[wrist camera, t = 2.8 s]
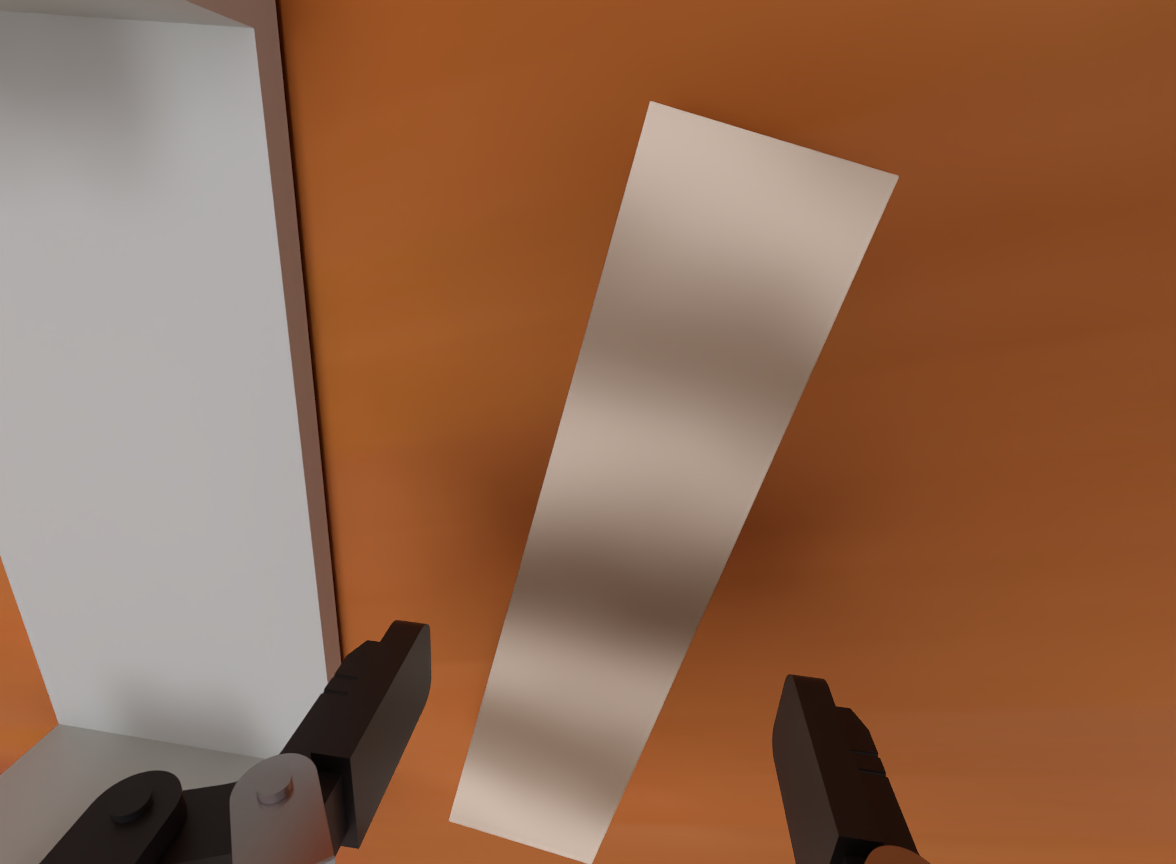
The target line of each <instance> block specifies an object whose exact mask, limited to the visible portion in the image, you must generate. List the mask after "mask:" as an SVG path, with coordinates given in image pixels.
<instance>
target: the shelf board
mask: <svg viewBox="0 0 1176 864" xmlns="http://www.w3.org/2000/svg"><path fill="white" fill-rule="evenodd" d="M898 178H899V176H897V175H894V174H891V173H887V172H884V171H881V170H877V169H874V168H871V167H868V166H864V165H861V164H858V163H854V162H851V161H848V160H844V159H841V158H838V157H834V156H831V155H828V154H824V153H821V152H818V151H814V150H811V149H808V148H805V147H801V146H798V145H795V144H791V143H788V142H785V141H781V140H778V139H775V138H771V137H768V136H765V135H761V134H758V133H755V132H752V131H748V130H745V129H742V128H738V127H735V126H732V125H728V124H725V123H722V122H718V121H715V120H712V119H708V118H705V117H702V116H699V115H695V114H692V113H689V112H685V111H682V110H679V109H675V108H672V107H669V106H665V105H662V104H659V103H655V102H652V101H650V104H649V107H648V111H647V114H646V118H645V122H644V125H643V129H642V132H641V136H640V139H639V143H638V147H637V150H636V154H635V157H634V161H633V164H632V168H631V172H630V175H629V179H628V182H627V186H626V189H625V193H624V197H623V200H622V204H621V207H620V211H619V214H618V218H617V222H616V225H615V229H614V232H613V236H612V239H611V243H610V247H609V250H608V254H607V257H606V261H605V264H604V268H603V272H602V275H601V279H600V282H599V286H598V289H597V293H596V297H595V300H594V304H593V307H592V311H591V314H590V318H589V322H588V325H587V329H586V332H585V336H584V339H583V343H582V347H581V350H580V354H579V357H578V361H577V364H576V368H575V372H574V375H573V379H572V382H571V386H570V389H569V393H568V397H567V400H566V404H565V407H564V411H563V414H562V418H561V422H560V425H559V429H558V432H557V436H556V439H555V443H554V447H553V450H552V454H551V457H550V461H549V464H548V468H547V472H546V475H545V479H544V482H543V486H542V489H541V493H540V497H539V500H538V504H537V507H536V511H535V514H534V518H533V522H532V525H531V529H530V532H529V536H528V539H527V543H526V547H525V550H524V554H523V557H522V561H521V564H520V568H519V572H518V575H517V579H516V582H515V586H514V589H513V593H512V597H511V600H510V604H509V607H508V611H507V614H506V618H505V622H504V625H503V629H502V632H501V636H500V639H499V643H498V647H497V650H496V654H495V657H494V661H493V664H492V668H491V672H490V675H489V679H488V682H487V686H486V689H485V693H484V697H483V700H482V704H481V707H480V711H479V714H478V718H477V722H476V725H475V729H474V732H473V736H472V739H471V743H470V747H469V750H468V754H467V757H466V761H465V764H464V768H463V772H462V775H461V779H460V782H459V786H458V789H457V793H456V797H455V800H454V804H453V807H452V811H451V814H450V818H449V821H451V822H454V823H457V824H460V825H464V826H467V827H470V828H473V829H477V830H480V831H483V832H486V833H490V834H493V835H496V836H499V837H503V838H506V839H509V840H513V841H516V842H519V843H522V844H526V845H529V846H532V847H535V848H539V849H542V850H545V851H548V852H552V853H555V854H558V855H561V856H565V857H568V858H571V859H574V860H578V861H581V862H584V863H587V864H592V862H593V860H594V858H595V855H596V853H597V851H598V849H599V846H600V844H601V842H602V840H603V838H604V835H605V833H606V831H607V829H608V826H609V824H610V822H611V820H612V817H613V815H614V813H615V811H616V808H617V806H618V804H619V802H620V800H621V797H622V795H623V793H624V791H625V788H626V786H627V784H628V782H629V779H630V777H631V775H632V773H633V770H634V768H635V766H636V764H637V761H638V759H639V757H640V755H641V753H642V750H643V748H644V746H645V744H646V741H647V739H648V737H649V735H650V732H651V730H652V728H653V726H654V723H655V721H656V719H657V717H658V715H659V712H660V710H661V708H662V706H663V703H664V701H665V699H666V697H667V694H668V692H669V690H670V688H671V685H672V683H673V681H674V679H675V676H676V674H677V672H678V670H679V668H680V665H681V663H682V661H683V659H684V656H685V654H686V652H687V650H688V647H689V645H690V643H691V641H692V638H693V636H694V634H695V632H696V630H697V627H698V625H699V623H700V621H701V618H702V616H703V614H704V612H705V609H706V607H707V605H708V603H709V600H710V598H711V596H712V594H713V591H714V589H715V587H716V585H717V583H718V580H719V578H720V576H721V574H722V571H723V569H724V567H725V565H726V562H727V560H728V558H729V556H730V553H731V551H732V549H733V547H734V545H735V542H736V540H737V538H738V536H739V533H740V531H741V529H742V527H743V524H744V522H745V520H746V518H747V515H748V513H749V511H750V509H751V506H752V504H753V502H754V500H755V498H756V495H757V493H758V491H759V489H760V486H761V484H762V482H763V480H764V477H765V475H766V473H767V471H768V468H769V466H770V464H771V462H772V460H773V457H774V455H775V453H776V451H777V448H778V446H779V444H780V442H781V439H782V437H783V435H784V433H785V430H786V428H787V426H788V424H789V422H790V419H791V417H792V415H793V413H794V410H795V408H796V406H797V404H798V401H799V399H800V397H801V395H802V392H803V390H804V388H805V386H806V383H807V381H808V379H809V377H810V375H811V372H812V370H813V368H814V366H815V363H816V361H817V359H818V357H819V354H820V352H821V350H822V348H823V345H824V343H825V341H826V339H827V337H828V334H829V332H830V330H831V328H832V325H833V323H834V321H835V319H836V316H837V314H838V312H839V310H840V307H841V305H842V303H843V301H844V298H845V296H846V294H847V292H848V290H849V287H850V285H851V283H852V281H853V278H854V276H855V274H856V272H857V269H858V267H859V265H860V263H861V260H862V258H863V256H864V254H865V252H866V249H867V247H868V245H869V243H870V240H871V238H872V236H873V234H874V231H875V229H876V227H877V225H878V222H879V220H880V218H881V216H882V213H883V211H884V209H885V207H886V205H887V202H888V200H889V198H890V196H891V193H892V191H893V189H894V187H895V184H896V182H897V180H898Z"/></svg>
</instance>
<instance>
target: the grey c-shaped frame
mask: <svg viewBox="0 0 1176 864" xmlns="http://www.w3.org/2000/svg"><path fill="white" fill-rule="evenodd" d="M0 556H1V559H2V562H3V565H4V567H5V570H6V573H7V576H8V579H9V582H10V585H11V588H12V590H13V593H14V596H15V599H16V602H17V605H18V608H19V611H20V613H21V616H22V619H23V622H24V625H25V628H26V631H27V634H28V636H29V639H30V642H31V645H32V648H33V651H34V654H35V657H36V659H37V662H38V665H39V668H40V671H41V674H42V677H43V680H44V682H45V685H46V688H47V691H48V694H49V697H50V700H51V703H52V705H53V708H54V711H55V714H56V717H57V720H58V723H59V724H58V725H57V726H56V727H55V728H54V729H53V730H52V731H50V732H49V733H48V734H47V735H46V736H45V737H44V738H42V739H41V740H40V741H39V742H38V743H37V744H36V745H34V746H33V747H32V748H31V749H30V750H29V751H28V752H26V753H25V754H24V755H23V756H22V757H21V758H20V759H19V760H17V761H16V762H15V763H14V764H13V765H12V766H11V767H9V768H8V769H7V770H6V771H5V772H4V773H3V774H1V775H0V864H39V863H40V862H41V861H42V860H43V859H44V858H45V856H46V855H47V854H48V853H49V852H50V851H51V850H52V848H53V847H54V846H55V845H56V844H57V843H58V841H59V840H60V839H61V838H62V837H63V836H64V835H65V833H66V832H67V831H68V830H69V829H70V828H71V827H72V825H73V824H74V823H75V822H76V821H77V820H78V819H79V817H80V816H81V815H82V814H83V813H84V812H85V811H86V809H87V808H88V807H89V806H90V805H91V804H92V803H93V802H94V801H95V799H96V798H97V797H98V796H100V795H101V794H102V793H103V792H104V791H106V790H107V789H108V788H110V787H111V786H113V785H114V784H116V783H118V782H119V781H121V780H123V779H125V778H128V777H130V776H132V775H135V774H138V773H142V772H146V771H153V770H162V771H167V772H170V773H172V774H174V775H175V776H177V777H178V779H179V780H180V783H181V786H182V790H189V789H196V788H202V787H209V786H216V785H223V784H228V783H233V782H236V781H238V780H239V779H240V778H241V777H242V776H243V774H244V773H245V772H247V771H248V770H249V769H250V768H251V767H253V766H254V765H256V764H257V763H259V762H261V761H263V760H265V759H267V758H269V757H272V756H275V755H279V754H280V752H281V751H282V750H283V748H284V747H285V745H286V744H287V742H288V741H289V740H290V738H291V737H292V735H293V734H294V732H295V731H296V729H297V728H298V726H299V725H300V723H301V722H302V721H303V719H304V718H305V716H306V715H307V713H308V712H309V710H310V709H311V707H312V706H313V705H314V703H315V702H316V700H317V699H318V697H319V696H320V694H321V693H323V692H324V688H325V687H326V686H327V684H328V683H329V681H330V680H331V678H334V674H335V672H336V671H337V669H338V668H339V667H340V665H341V656H340V646H339V636H338V626H337V616H336V606H335V596H334V586H333V576H332V566H331V556H330V546H329V536H328V526H327V516H326V506H325V496H324V486H323V476H322V466H321V456H320V446H319V436H318V425H317V415H316V405H315V395H314V385H313V375H312V365H311V355H310V345H309V335H308V325H307V315H306V305H305V295H304V285H303V275H302V265H301V255H300V245H299V235H298V225H297V215H296V204H295V194H294V184H293V174H292V164H291V154H290V144H289V134H288V124H287V114H286V104H285V94H284V84H283V74H282V64H281V54H280V44H279V34H278V24H277V14H276V4H275V0H0Z"/></svg>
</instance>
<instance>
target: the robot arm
mask: <svg viewBox="0 0 1176 864" xmlns="http://www.w3.org/2000/svg"><path fill="white" fill-rule="evenodd" d="M430 685H431V646H430V627H429V625H428V624H422V623H415V622H408V621H400V620H395V621H394V622H393V623H392V624H391V626H390V627H389V629H388V630H387V632H386V634H385V635H384V637H383V638H382V640H381V641H380V642H376V641H369V640H367V641H366V642H364V643H363V644H362V645H360V646H359V647H358V648H356V649H355V650H354V651H352V652H351V653H350V654H348V655H347V656H346V658H345V659H344V661H343V662H342V664H341V665H340V667H339V668H338V669H337V671H336V672H335V674H334V678H331V680H330V681H329V683H328V684H327V686H326V687H325V688H324V692H323V693H321V694H320V696H319V697H318V699H317V700H316V702H315V703H314V705H313V706H312V707H311V709H310V710H309V712H308V713H307V715H306V716H305V718H304V719H303V721H302V722H301V723H300V725H299V726H298V728H297V729H296V731H295V732H294V734H293V735H292V737H291V738H290V740H289V741H288V742H287V744H286V745H285V747H284V748H283V750H282V751H281V752H280V754H279V755H275V756H272V757H269V758H267V759H265V760H263V761H261V762H259V763H257V764H256V765H254V766H253V767H251V768H250V769H249V770H248V771H247V772H245V773H244V774H243V776H242V777H241V778H240V779H239V780H238V781H236V782H233V783H228V784H223V785H216V786H209V787H202V788H196V789H189V790H182V786H181V783H180V780H179V779H178V777H177V776H175V775H174V774H172V773H170V772H167V771H162V770H153V771H146V772H142V773H138V774H135V775H132V776H130V777H128V778H125V779H123V780H121V781H119V782H118V783H116V784H114V785H113V786H111V787H110V788H108V789H107V790H106V791H104V792H103V793H102V794H101V795H100V796H98V797H97V798H96V799H95V801H94V802H93V803H92V804H91V805H90V806H89V807H88V808H87V809H86V811H85V812H84V813H83V814H82V815H81V816H80V817H79V819H78V820H77V821H76V822H75V823H74V824H73V825H72V827H71V828H70V829H69V830H68V831H67V832H66V833H65V835H64V836H63V837H62V838H61V839H60V840H59V841H58V843H57V844H56V845H55V846H54V847H53V848H52V850H51V851H50V852H49V853H48V854H47V855H46V856H45V858H44V859H43V860H42V861H41V862H40V863H39V864H336V862H335V856H336V854H337V852H338V850H339V848H340V846H345V847H351V848H357V849H359V847H360V845H361V843H362V841H363V839H364V836H365V834H366V832H367V830H368V828H369V826H370V823H371V821H372V819H373V817H374V815H375V813H376V810H377V808H378V806H379V804H380V802H381V800H382V797H383V795H384V793H385V791H386V789H387V787H388V785H389V782H390V780H391V778H392V776H393V774H394V772H395V769H396V767H397V765H398V763H399V761H400V759H401V756H402V754H403V752H404V750H405V748H406V746H407V743H408V741H409V739H410V737H411V735H412V733H413V730H414V728H415V726H416V724H417V722H418V720H419V717H420V715H421V713H422V711H423V709H424V706H425V704H426V701H427V698H428V694H429V690H430ZM772 745H773V757H774V762H775V767H776V771H777V776H778V781H779V786H780V790H781V795H782V800H783V805H784V809H785V814H786V819H787V824H788V828H789V833H790V838H791V843H792V847H793V852H794V857H795V861H796V864H930V863H929V862H928V861H926V860H925V859H924V858H922V857H921V856H920V855H919V853H918V851H917V849H916V846H915V844H914V841H913V839H912V836H911V834H910V831H909V829H908V827H907V824H906V822H905V819H904V817H903V814H902V812H901V809H900V807H899V804H898V802H897V799H896V797H895V794H894V792H893V789H892V787H891V784H890V782H889V779H888V777H886V772H885V769H884V767H883V764H882V762H881V759H880V758H878V752H877V750H876V747H875V745H874V742H873V740H872V737H871V735H870V732H869V730H868V729H867V727H866V726H865V725H864V724H863V723H862V722H861V720H860V719H859V718H858V717H857V716H856V714H855V713H854V712H853V711H852V710H851V709H850V708H843V707H836V706H835V703H834V701H833V698H832V695H831V692H830V689H829V686H828V684H827V682H826V681H825V680H824V679H820V678H812V677H805V676H798V675H788V676H787V677H786V680H785V683H784V687H783V691H782V695H781V699H780V703H779V707H778V711H777V715H776V719H775V723H774V728H773V738H772Z"/></svg>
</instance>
